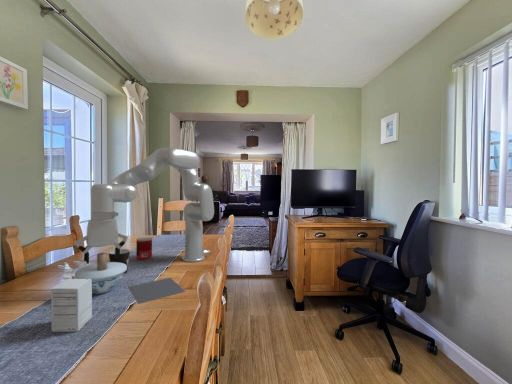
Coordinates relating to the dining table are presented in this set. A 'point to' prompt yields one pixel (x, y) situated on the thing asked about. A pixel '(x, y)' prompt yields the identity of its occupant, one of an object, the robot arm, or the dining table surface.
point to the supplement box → (71, 305)
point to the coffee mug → (120, 257)
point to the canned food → (144, 248)
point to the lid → (101, 269)
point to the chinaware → (105, 284)
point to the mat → (155, 290)
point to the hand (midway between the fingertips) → (102, 260)
